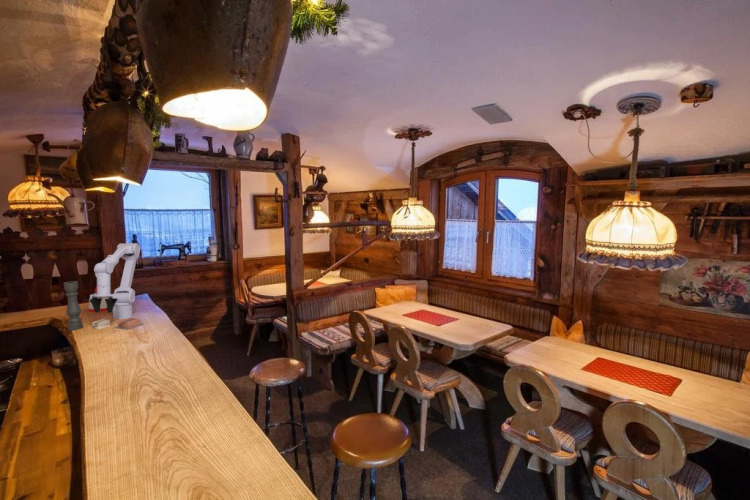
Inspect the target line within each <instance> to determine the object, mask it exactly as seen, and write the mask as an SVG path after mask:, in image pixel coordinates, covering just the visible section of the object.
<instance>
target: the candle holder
mask: <svg viewBox="0 0 750 500" xmlns="http://www.w3.org/2000/svg"><path fill="white" fill-rule="evenodd" d="M63 288H64V291H65V292H66V293H65V296H66V298H67V306H66V315H67V316H68V320H67V331H70V332H74V331H73V330H75V331H77V330H80V329H83V328H84V325H83V320H82V318H81V317H80V316H81V312H82V308H81V307H80V304H79V301H78V295H79V292H78V289H79V282H78V280H75V281H74V280H73V281H72V280H71V281H65V282H63Z"/></svg>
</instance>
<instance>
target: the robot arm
mask: <svg viewBox="0 0 750 500" xmlns="http://www.w3.org/2000/svg"><path fill="white" fill-rule="evenodd" d="M140 253H141V246H140V244H138V242H137V243H136V242H134V243H119V244H118V245H117V246H116V250H115V251H114V252H113V254H108V255H107V256H106V258H104V259H103V260H102V261H101V262H98V263H96V264H95V265H94V268H93V271H94V275H95V278H96V287H97V294H94V293H93V294H90V295H89V299H90V298H92V299H90V302H91V303H92V305H93V308H94V311H95V312H94V313H100V312H101V311H100V305H101V301H102V298H109V299H105V301H106V304H107V311H106V312H107V314H108V313H112V317H113V319H118V320H119V319H120V320H125V319H128V318H133V316H134V314H133V303H134V302H135V300H136V291H135V290H134V289H133V288H132V284H133V279H134V273H135V270H136V264H137V260H139V257H140ZM120 259H123V260H125V263H124V268H123V272H122V277H121V280H120V285H119V286H118V287H117V288H115V289H114V292H113V293H111V274H112V273H113V272H114V269H115V267H116V265H117V264H118V263H119V262H120ZM104 296H106V297H104Z"/></svg>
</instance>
